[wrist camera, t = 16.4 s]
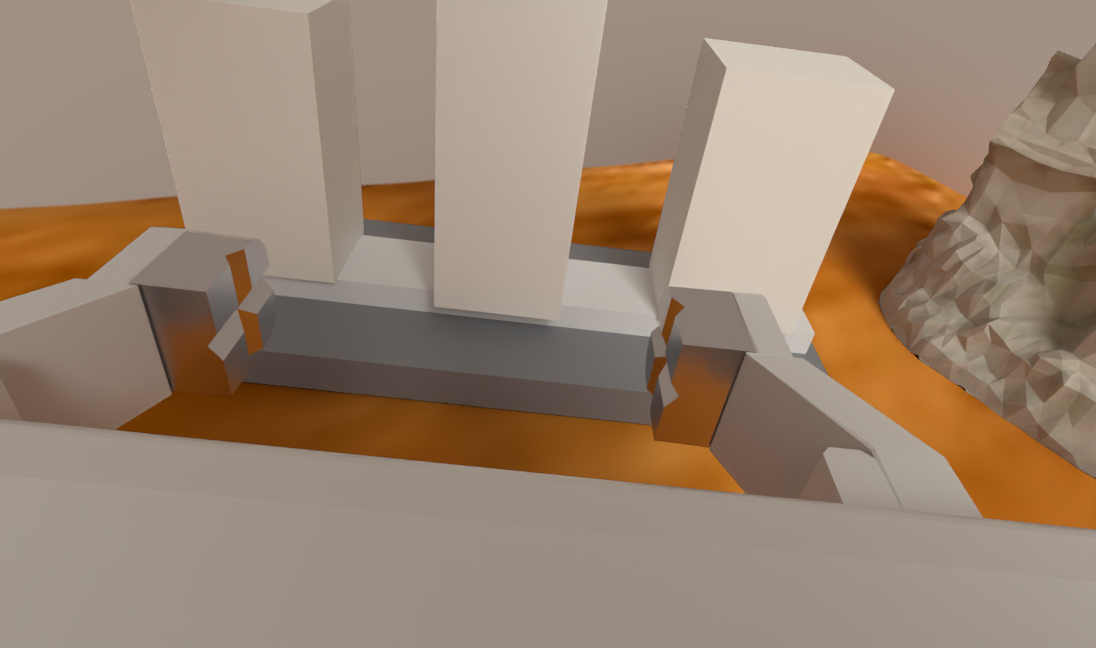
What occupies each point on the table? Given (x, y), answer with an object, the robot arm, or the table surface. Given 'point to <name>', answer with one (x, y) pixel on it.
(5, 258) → the table surface
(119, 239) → the table surface
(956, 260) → the stone castle model
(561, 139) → the block
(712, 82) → the white u-shaped stand
